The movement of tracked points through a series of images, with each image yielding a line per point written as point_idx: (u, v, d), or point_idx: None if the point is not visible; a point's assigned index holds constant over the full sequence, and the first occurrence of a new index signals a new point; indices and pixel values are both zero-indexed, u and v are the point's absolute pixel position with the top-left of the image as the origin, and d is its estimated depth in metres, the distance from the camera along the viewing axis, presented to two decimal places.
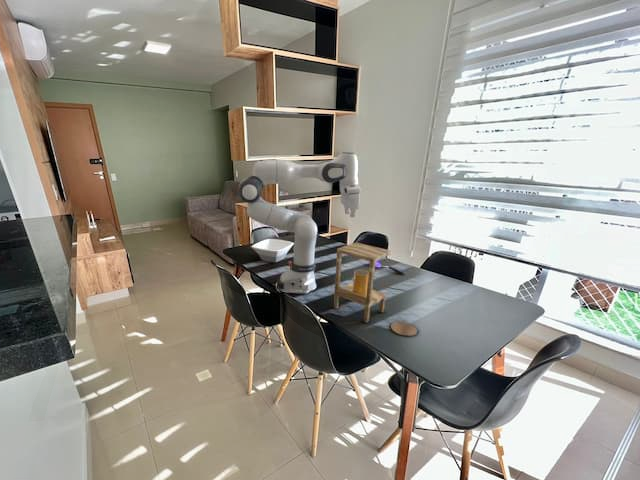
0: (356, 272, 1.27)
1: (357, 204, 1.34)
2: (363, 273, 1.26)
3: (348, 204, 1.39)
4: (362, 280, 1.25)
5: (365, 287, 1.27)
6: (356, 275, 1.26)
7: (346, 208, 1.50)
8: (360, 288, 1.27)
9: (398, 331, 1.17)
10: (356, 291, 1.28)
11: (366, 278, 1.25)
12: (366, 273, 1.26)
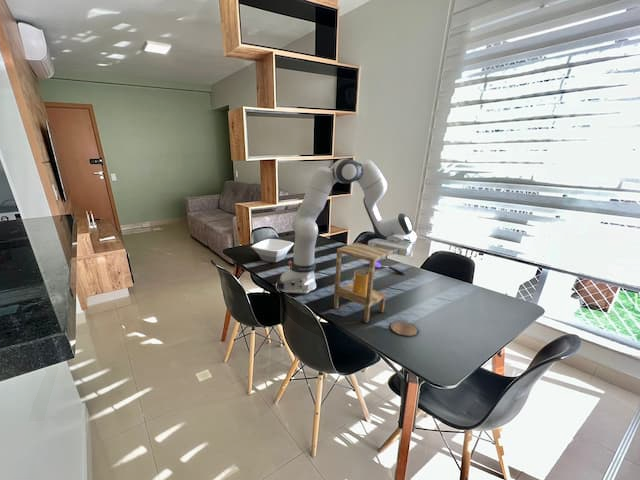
0: (356, 272, 1.27)
1: (407, 253, 1.32)
2: (363, 273, 1.26)
3: (397, 245, 1.34)
4: (362, 280, 1.25)
5: (365, 287, 1.27)
6: (356, 275, 1.26)
7: (373, 246, 1.40)
8: (360, 288, 1.27)
9: (398, 331, 1.17)
10: (356, 291, 1.28)
11: (366, 278, 1.25)
12: (366, 273, 1.26)
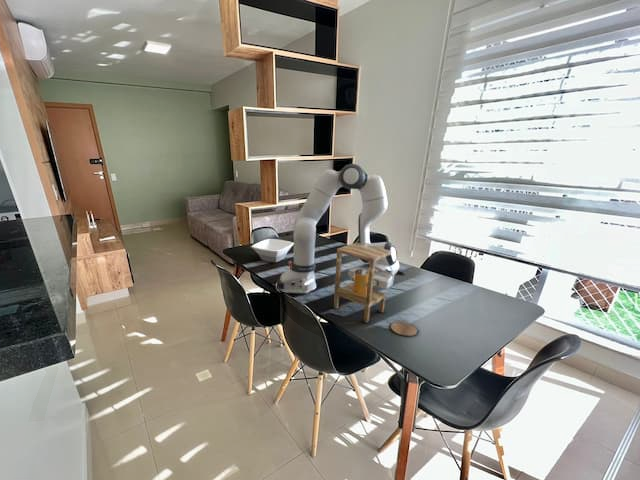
0: (356, 272, 1.27)
1: (388, 286, 1.26)
2: (363, 273, 1.26)
3: (377, 277, 1.29)
4: (361, 280, 1.25)
5: (365, 287, 1.27)
6: (356, 275, 1.26)
7: None
8: (360, 288, 1.27)
9: (398, 331, 1.17)
10: (356, 291, 1.28)
11: (366, 278, 1.25)
12: (366, 273, 1.26)
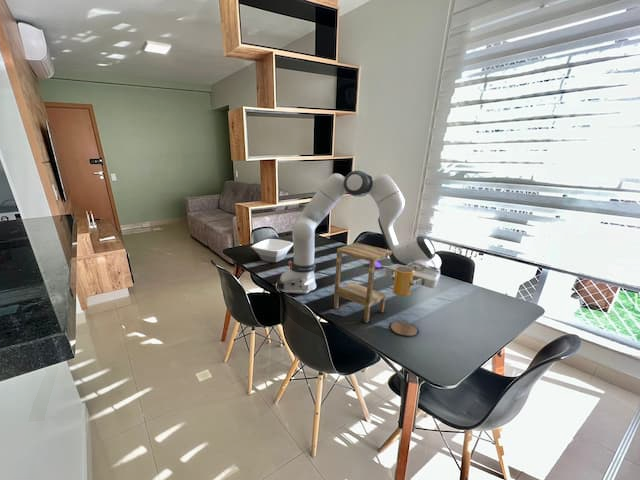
0: (398, 269, 1.12)
1: (435, 285, 1.11)
2: (406, 270, 1.11)
3: (422, 275, 1.13)
4: (405, 278, 1.10)
5: (409, 287, 1.12)
6: (399, 273, 1.11)
7: (394, 275, 1.18)
8: (403, 287, 1.12)
9: (398, 331, 1.17)
10: (398, 291, 1.13)
11: (410, 276, 1.10)
12: (410, 270, 1.11)
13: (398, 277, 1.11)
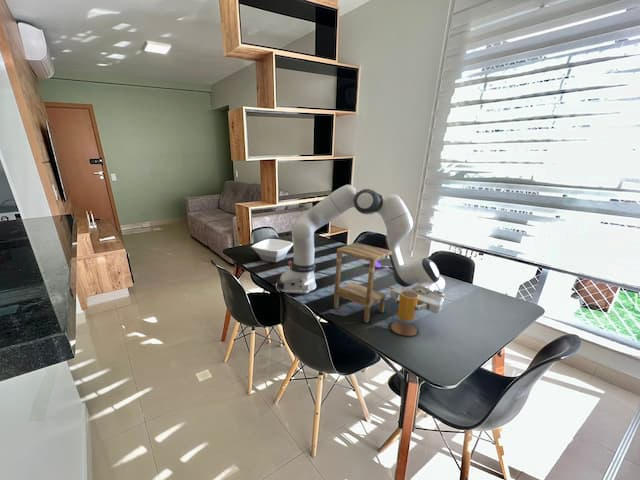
0: (403, 294, 1.13)
1: (440, 310, 1.12)
2: (411, 295, 1.12)
3: (426, 299, 1.14)
4: (410, 303, 1.11)
5: (414, 311, 1.13)
6: (404, 298, 1.12)
7: None
8: (407, 312, 1.13)
9: (398, 331, 1.17)
10: (403, 315, 1.14)
11: (415, 301, 1.11)
12: (415, 295, 1.12)
13: (403, 302, 1.12)
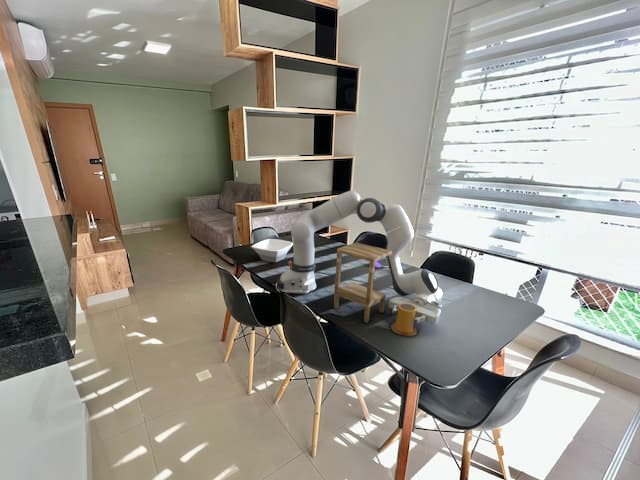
0: (401, 307, 1.15)
1: (437, 321, 1.14)
2: (409, 308, 1.14)
3: (424, 311, 1.16)
4: (408, 316, 1.13)
5: (411, 324, 1.15)
6: (402, 311, 1.14)
7: (395, 309, 1.21)
8: (405, 324, 1.15)
9: (398, 331, 1.17)
10: (401, 328, 1.16)
11: (413, 314, 1.13)
12: (413, 308, 1.14)
13: (401, 315, 1.15)
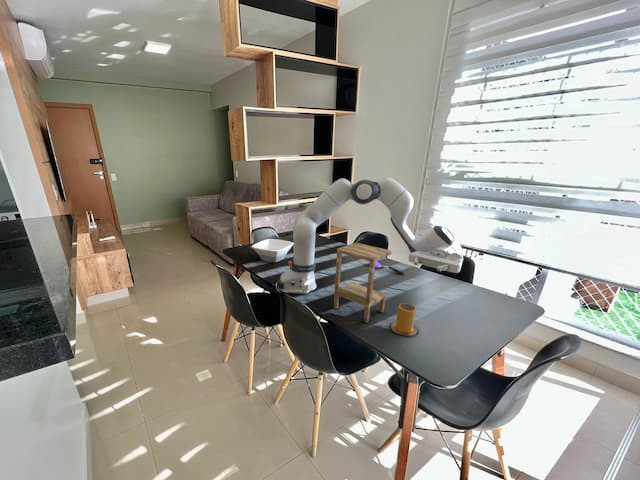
0: (401, 307, 1.15)
1: (459, 270, 1.15)
2: (409, 308, 1.14)
3: (446, 260, 1.17)
4: (408, 316, 1.13)
5: (411, 324, 1.15)
6: (402, 311, 1.14)
7: None
8: (405, 324, 1.15)
9: (398, 331, 1.17)
10: (401, 328, 1.16)
11: (413, 314, 1.13)
12: (413, 308, 1.14)
13: (401, 315, 1.15)
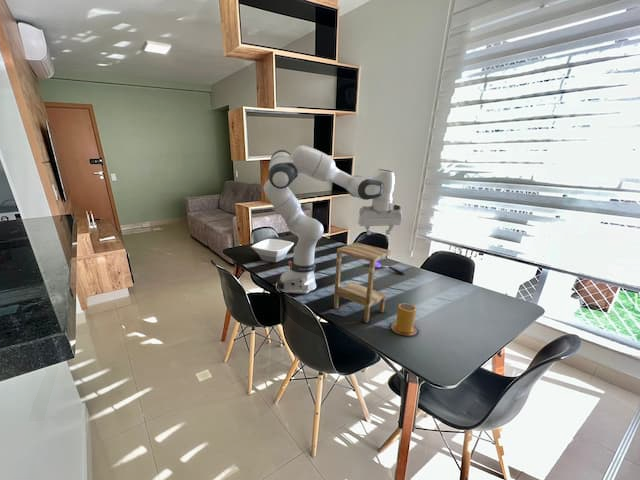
0: (401, 307, 1.15)
1: None
2: (409, 308, 1.14)
3: (391, 221, 1.36)
4: (408, 316, 1.13)
5: (411, 324, 1.15)
6: (402, 311, 1.14)
7: None
8: (405, 324, 1.15)
9: (398, 331, 1.17)
10: (401, 328, 1.16)
11: (413, 314, 1.13)
12: (413, 308, 1.14)
13: (401, 315, 1.15)
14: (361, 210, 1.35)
